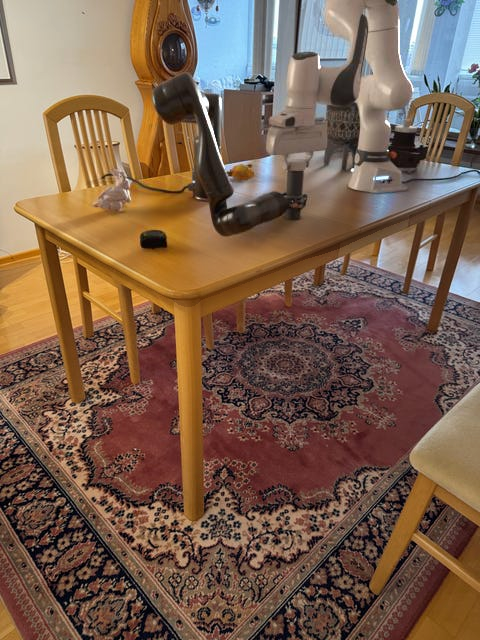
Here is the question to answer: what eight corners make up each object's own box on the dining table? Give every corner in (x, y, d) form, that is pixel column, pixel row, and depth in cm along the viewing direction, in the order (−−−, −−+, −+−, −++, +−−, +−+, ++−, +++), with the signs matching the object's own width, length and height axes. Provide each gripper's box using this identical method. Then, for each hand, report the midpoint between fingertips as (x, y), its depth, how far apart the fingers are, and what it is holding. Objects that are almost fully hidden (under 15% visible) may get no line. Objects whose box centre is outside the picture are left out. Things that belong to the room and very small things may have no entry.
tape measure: (140, 252, 115) (139, 238, 113) (141, 242, 120) (140, 229, 119) (167, 251, 116) (166, 237, 114) (167, 241, 121) (166, 228, 120)
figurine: (140, 206, 149) (137, 167, 143) (105, 217, 138) (99, 175, 132) (123, 202, 153) (119, 163, 146) (87, 213, 142) (81, 171, 136)
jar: (301, 219, 141) (306, 164, 133) (286, 219, 140) (289, 164, 132) (298, 214, 145) (302, 161, 137) (283, 215, 145) (286, 161, 136)
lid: (282, 168, 136) (282, 159, 135) (297, 166, 139) (297, 157, 138) (294, 171, 132) (295, 163, 131) (309, 169, 135) (310, 161, 134)
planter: (313, 167, 208) (319, 103, 195) (331, 160, 222) (338, 101, 209) (353, 173, 199) (362, 107, 185) (369, 166, 213) (379, 104, 199)
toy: (223, 172, 179) (229, 164, 192) (228, 188, 182) (234, 178, 195) (249, 163, 176) (253, 155, 188) (254, 179, 179) (258, 170, 191)
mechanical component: (374, 119, 196) (402, 114, 215) (366, 169, 206) (394, 160, 226) (423, 124, 184) (449, 118, 203) (412, 177, 194) (437, 167, 214)
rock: (345, 148, 251) (347, 136, 248) (358, 151, 246) (360, 138, 242) (330, 151, 244) (331, 138, 240) (343, 154, 238) (344, 141, 235)
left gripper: (290, 198, 124) (319, 187, 136) (248, 190, 132) (279, 179, 143) (288, 225, 128) (317, 211, 140) (247, 215, 135) (278, 203, 147)
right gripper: (320, 115, 136) (315, 163, 143) (264, 118, 126) (262, 169, 133) (334, 117, 131) (329, 167, 138) (277, 121, 121) (274, 173, 128)
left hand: (297, 195), depth 142 cm, fingers closed on jar, 5 cm apart
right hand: (295, 168), depth 135 cm, fingers closed on lid, 6 cm apart
